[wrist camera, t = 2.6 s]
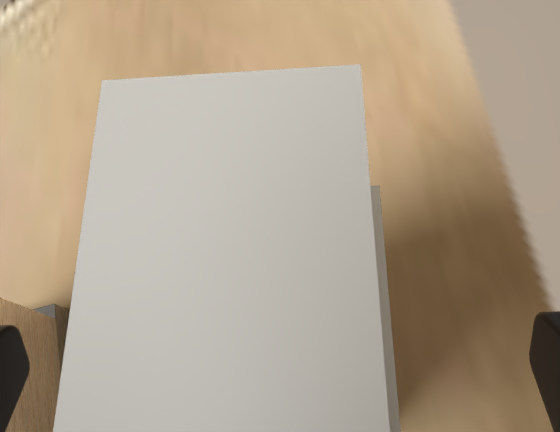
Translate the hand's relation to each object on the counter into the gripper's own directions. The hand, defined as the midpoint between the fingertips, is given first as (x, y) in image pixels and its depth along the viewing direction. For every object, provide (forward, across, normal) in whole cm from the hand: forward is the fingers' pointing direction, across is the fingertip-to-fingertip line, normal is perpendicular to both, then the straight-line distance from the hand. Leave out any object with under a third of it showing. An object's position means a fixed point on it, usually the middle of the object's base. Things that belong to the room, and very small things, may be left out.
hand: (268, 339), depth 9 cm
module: (+6, 0, +6) cm, 8 cm away
